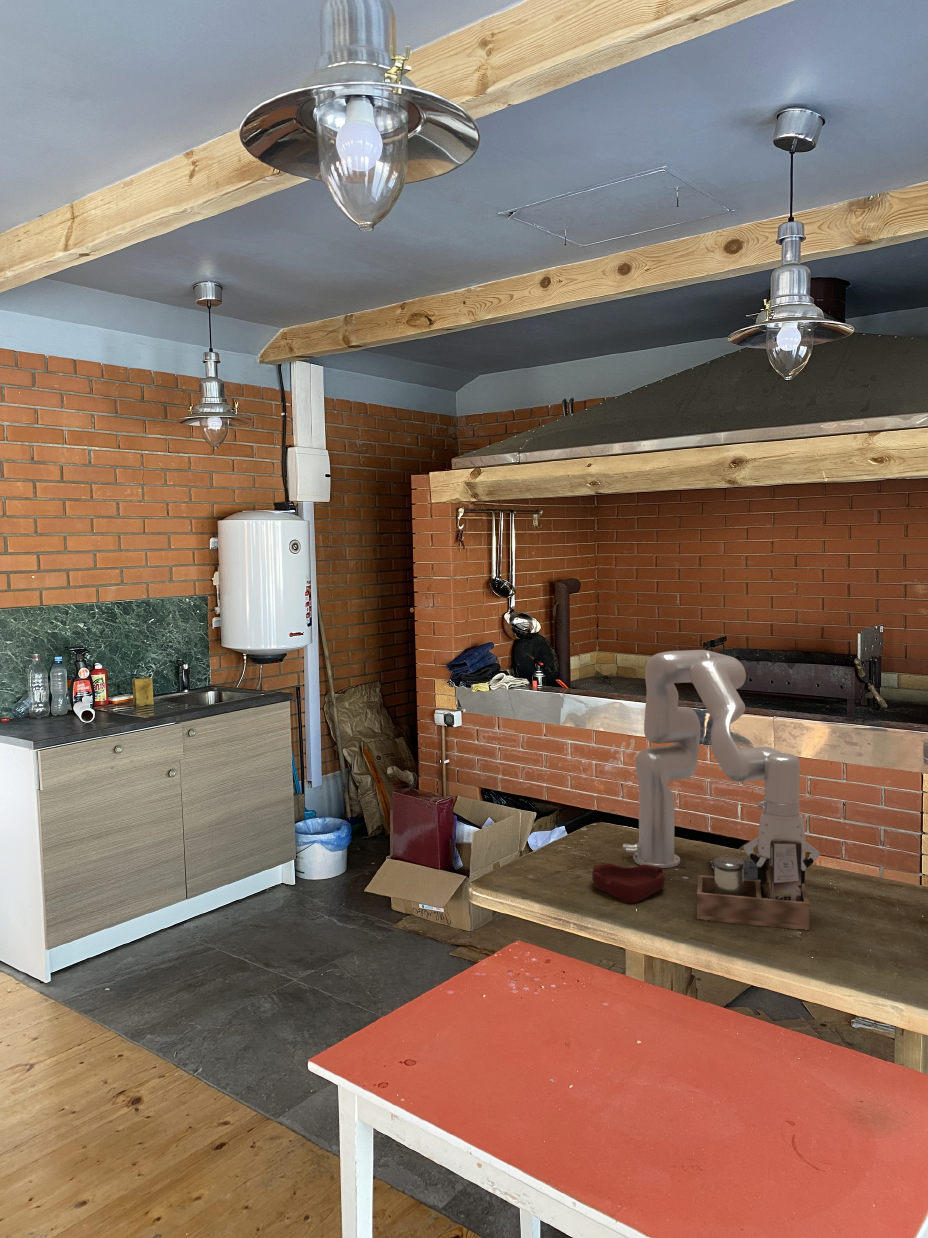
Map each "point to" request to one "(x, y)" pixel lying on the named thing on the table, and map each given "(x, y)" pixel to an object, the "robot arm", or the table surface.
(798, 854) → the coffee box
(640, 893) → the ashtray
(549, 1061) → the table surface
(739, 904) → the caddy
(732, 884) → the tea tin
